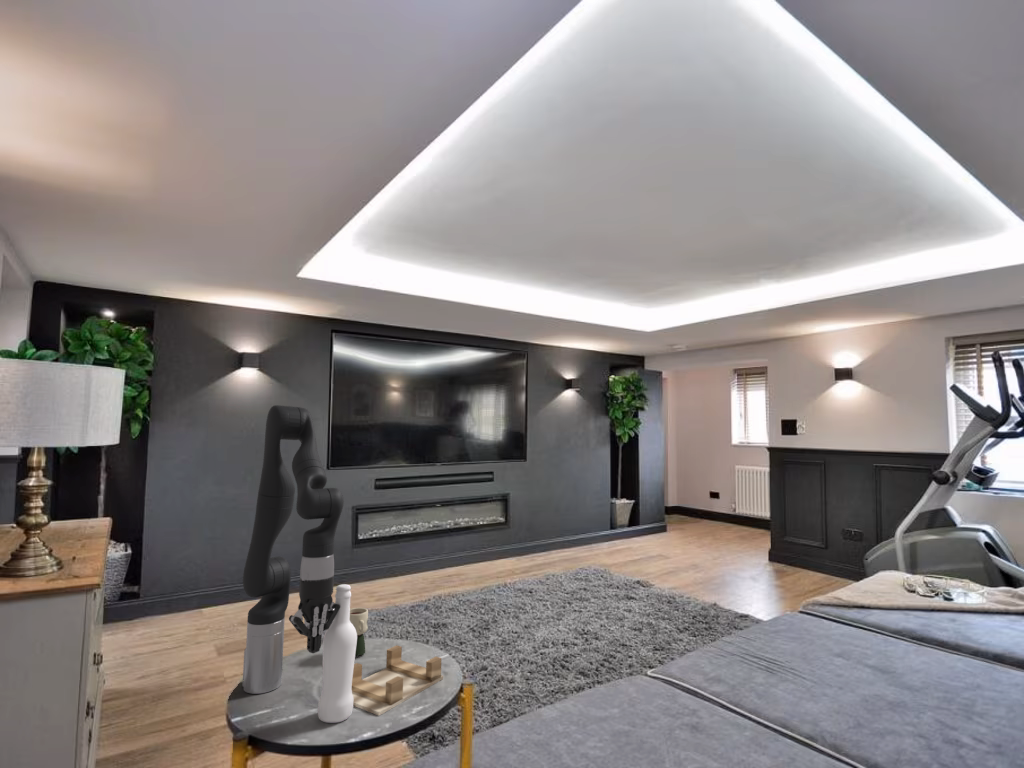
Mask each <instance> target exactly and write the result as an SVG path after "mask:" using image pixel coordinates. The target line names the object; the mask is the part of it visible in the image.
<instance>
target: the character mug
mask: <svg viewBox="0 0 1024 768" xmlns="http://www.w3.org/2000/svg"><path fill="white" fill-rule="evenodd" d="M368 620H369V609H367V608H365V607H353V608H350V622H351V623H352V624H353V626H354V627H355V629H356V632H357V644H356V653H355V658H356V657H358V656H362V655H364V654H366V641H365V633H366V632H367V631H368V628H369V626H368Z"/></svg>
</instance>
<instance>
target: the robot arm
mask: <svg viewBox="0 0 1024 768" xmlns="http://www.w3.org/2000/svg"><path fill="white" fill-rule="evenodd" d="M264 433H265V435H264V436H265V437H264V446H263V447H264V450H263V459H262V460H263V461H262V467H261V468H262V469H261V474H260V481H259V486H258V492H257V498H256V506H255V517H254V522H253V529H252V534H251V539H250V544H249V548H248V552H247V556H246V560H245V565H244V569H243V573H242V587H243V591H244V592H245V594H246V596H248V597H250V598H260V597H261V598H260V599H259V601H258V602H257V603H256V604H255V605H253V606H252V607H251V608H250V609H249V610H248V612H247V624H246V625H247V626H246V643H245V644H246V645H245V649H244V653H243V667H242V669H243V670H242V682H241V683H242V685H241V687H243V691H244V692H245V693H247V694H253V695H254V694H255V695H256V694H265V693H269V692H271V691H273V690H276V689H278V688H279V687H280V686H282V679H283V678H282V677H283V663H284V662H283V660H284V659H283V658H284V643H285V641H284V640H285V639H284V638H285V621H286V620H285V617H286V611H287V608H288V606H289V602H290V601H289V600H290V590H291V580H292V579H291V578H292V577H291V575H292V572H291V567H290V564H289V562H288V560H287V559H286V558H285V557H283V556H273V557H271V556H272V552H273V548H274V545H275V542H276V541H277V539H278V536H279V535H280V534H281V532H282V531H283V529H284V527H285V525H286V524H287V523H288V520H289V519H290V518H291V517H290V516H291V515H292V512H293V509H294V508H293V507H294V501H295V495H296V493H295V492H297V496H296V497H297V498H296V509H295V510H296V512H297V514H298V517H300V518H301V519H304V520H317V519H320V520H321V519H323V520H322V522H321V523H320V525H318V526H317V527H313V528H311V529H308V530H305V532H304V533H303V536H302V548H301V549H302V554H301V560H300V561H301V562H300V567H299V570H300V572H299V588H298V589H299V591H298V595H299V599H300V601H299V604H298V606H297V609H298V610H297V611H296V612H295V613H294V614H291V615H290V616H289V617H288V621H289V622H290V623H291V624H292V626H293V627H294V628H295V630H296V631H297V632H298V633H299V635H301V636H302V635H303V636H305V637H306V638H307V639H306V649H307V651H308V652H309V653H311V654H316V653H318V652H320V649H321V646H322V635H323V633H324V632H325V631H326V630H328V629H329V627H330V625H331V624H332V622H333V621H334V618H335V616H336V614H337V612H338V611H339V609H340V605H339V604H335V602H334V599H333V596H332V595H333V593H334V581H335V580H334V579H335V578H334V577H335V559H334V558H335V557H334V556H335V554H334V551H335V550H334V549H335V535H336V530H337V528H338V524H339V521H340V518H341V514H342V512H343V507H344V504H345V503H344V502H345V501H344V497H343V493H342V491H341V490H340V489H338V488H336V487H335V488H334V487H329V488H328V487H327V488H325V487H326V485H327V482H328V480H327V479H328V478H327V475H326V472H325V469H324V466H323V464H322V462H321V459H320V456H319V451H318V445H317V440H316V439H317V438H316V433H315V426H314V421H313V417H312V415H311V412H310V411H309V410H308V408H305V407H301V406H292V405H291V406H290V405H273V406H271V407H270V409H268V413H267V417H266V422H265V432H264ZM281 440H286V441H287V440H290V441H299V442H300V446H299V448H298V449H297V450H296V453H295V454H294V456H293V458H292V462H291V471H292V474H293V476H294V479H295V483H296V487H295V483H294V480H293V477H292V476H291V474H290V472H289V471H288V469H287V467H286V465H285V463H284V460H283V458H282V454H281V452H282V451H281ZM296 488H297V491H296ZM243 680H244V681H243Z"/></svg>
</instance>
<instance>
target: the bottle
mask: <svg viewBox="0 0 1024 768" xmlns="http://www.w3.org/2000/svg"><path fill="white" fill-rule="evenodd" d="M335 590H336V593H335V594H334V597H335V602H334V603H335V604H339V605H340V609H339V611H338V612H337V614H336V616H335V618H334V620H333V622H332V624H331V625H330V627H329V629H328V630H325V631H324V636H323V639H322V672H321V673H322V676H321V677H322V680H321V681H322V684H321V686H322V687H321V694H320V697H319V699H318V703H317V717H318V719H319V720H320V721H321V722H323V723H327V724H337V723H341V722H343V721H346V720H347V719H348V718H350V717H351V716H352V713H353V709H354V706H353V701H354V698H353V695H352V678H353V669H354V664H355V659H356V656H355V653H356V644H357V632H356V629H355V627H354V626H353V624H352V623H351V622H350V609H351V597H352V592H351V590H352V587H351V585H350V584H345V583H342V584H339V585H337V586H336V589H335Z"/></svg>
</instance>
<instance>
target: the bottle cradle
mask: <svg viewBox="0 0 1024 768" xmlns="http://www.w3.org/2000/svg"><path fill="white" fill-rule="evenodd" d="M402 653H403V651H402V646H400V645H394V646H391V647H390V648H388V649H386V661H385V662H386V664H385V668H383V669H381V670H379V671H377V672H376V673H372V674H371V675H368V676H367V677H365V678H362V677H363V664H361V663H359V662H356V663H354V669H353V678H352V695H353V698H354V701H353V707H355V708H358V709H361V710H363V711H366V712H368V713H371V714H374V715H376V716H379V717H380V716H381V715H383V714H385V713H386V712H388V711H390V710H392V709H393V708H395V707H396V706H399V705H400V704H402V703H403V702H405V701H407V700H409V699H410V698H412V697H414V696H416V695H418V694H419V693H422V692H423V691H424V690H427V689H428V688H430V687H432V686H433V685H435V684H437V683H439V682H440V681H442V680H443V679H444V675H442V658H441V657H439V656H433V657H432V658H430V659H428V660H426V662H425V664H426V665H425V666H421V665H418V664H415V663H411V662H407V661H405V660H402Z"/></svg>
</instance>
